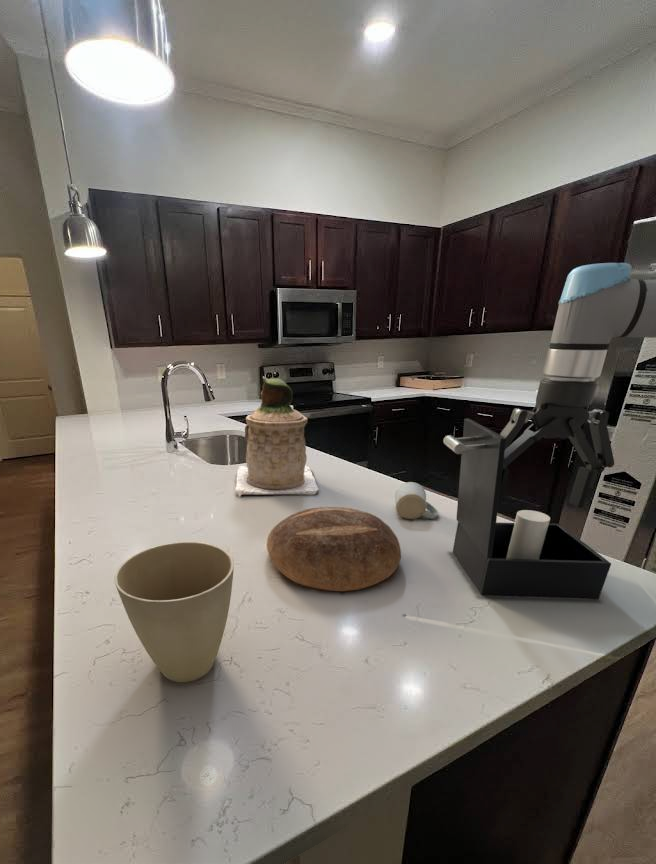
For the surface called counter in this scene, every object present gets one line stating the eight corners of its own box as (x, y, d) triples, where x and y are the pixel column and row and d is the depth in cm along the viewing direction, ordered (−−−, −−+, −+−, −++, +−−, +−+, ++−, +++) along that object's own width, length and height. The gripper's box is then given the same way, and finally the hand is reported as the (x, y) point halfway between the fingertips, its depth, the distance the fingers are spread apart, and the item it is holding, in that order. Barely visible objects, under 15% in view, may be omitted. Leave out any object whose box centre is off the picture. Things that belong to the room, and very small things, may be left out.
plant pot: (243, 629, 67) (239, 540, 60) (233, 706, 53) (226, 602, 47) (150, 628, 67) (136, 540, 61) (116, 705, 53) (94, 601, 47)
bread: (262, 534, 97) (261, 495, 93) (374, 528, 100) (377, 489, 96) (274, 600, 74) (273, 551, 70) (420, 590, 76) (427, 542, 72)
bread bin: (549, 557, 86) (559, 523, 83) (597, 602, 72) (611, 563, 69) (451, 555, 88) (457, 521, 85) (480, 599, 73) (489, 560, 70)
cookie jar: (320, 496, 120) (324, 379, 107) (234, 498, 119) (228, 381, 106) (310, 469, 142) (312, 371, 130) (237, 471, 142) (233, 372, 129)
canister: (531, 568, 81) (546, 512, 76) (536, 582, 76) (553, 523, 72) (501, 564, 83) (514, 508, 78) (505, 577, 78) (519, 519, 73)
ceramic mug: (394, 519, 104) (397, 491, 101) (393, 507, 111) (396, 480, 108) (439, 524, 102) (444, 495, 99) (435, 511, 109) (440, 483, 106)
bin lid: (468, 418, 76) (436, 421, 77) (506, 438, 62) (465, 441, 63) (460, 519, 84) (430, 521, 85) (492, 557, 70) (456, 559, 71)
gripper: (635, 376, 68) (595, 497, 76) (478, 375, 70) (455, 494, 78) (672, 381, 61) (624, 514, 70) (496, 380, 63) (470, 510, 71)
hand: (535, 503), depth 74 cm, fingers open, 13 cm apart
